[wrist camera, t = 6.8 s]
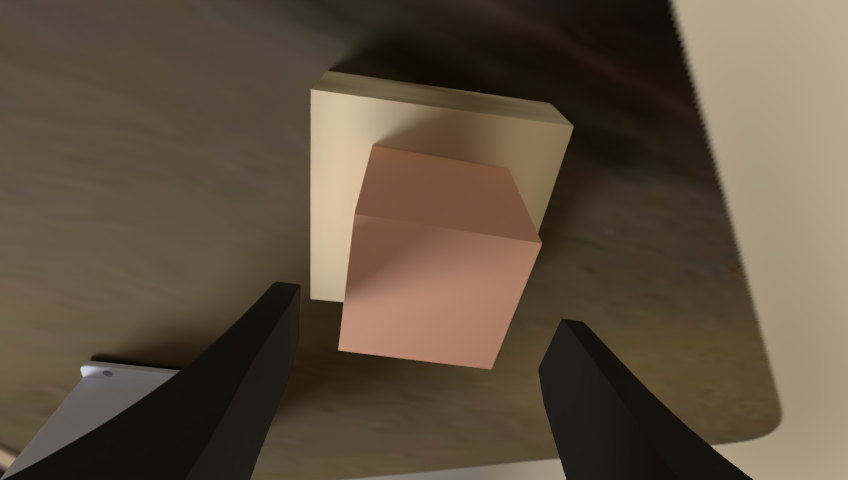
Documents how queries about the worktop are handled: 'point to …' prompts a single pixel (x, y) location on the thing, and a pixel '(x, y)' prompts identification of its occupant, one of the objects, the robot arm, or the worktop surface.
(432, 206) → the terracotta cube
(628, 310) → the worktop surface
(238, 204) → the worktop surface
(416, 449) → the worktop surface
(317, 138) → the birch base block
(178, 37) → the worktop surface
